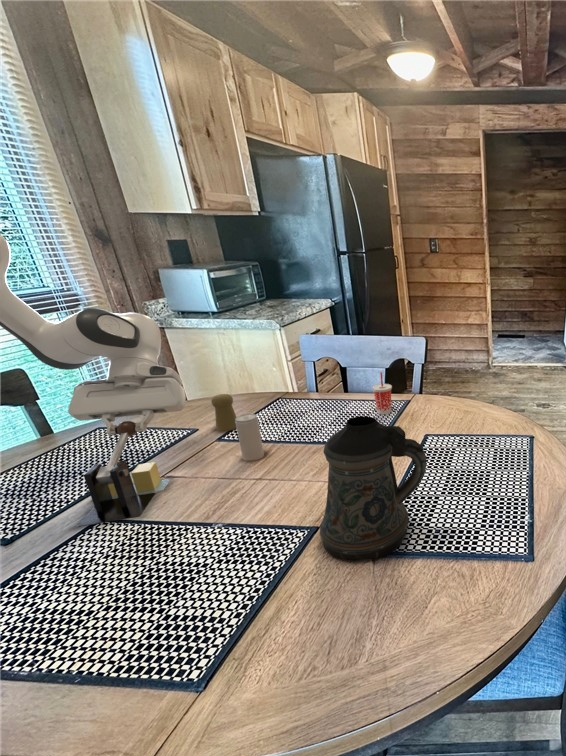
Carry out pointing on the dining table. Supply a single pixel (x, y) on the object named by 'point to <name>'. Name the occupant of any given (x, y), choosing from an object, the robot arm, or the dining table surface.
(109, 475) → the lever
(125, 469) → the cutter
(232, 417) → the cork
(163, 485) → the butter dish
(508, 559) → the dining table surface
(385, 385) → the beverage cup
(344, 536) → the beer stein
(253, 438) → the beverage can
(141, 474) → the butter right
